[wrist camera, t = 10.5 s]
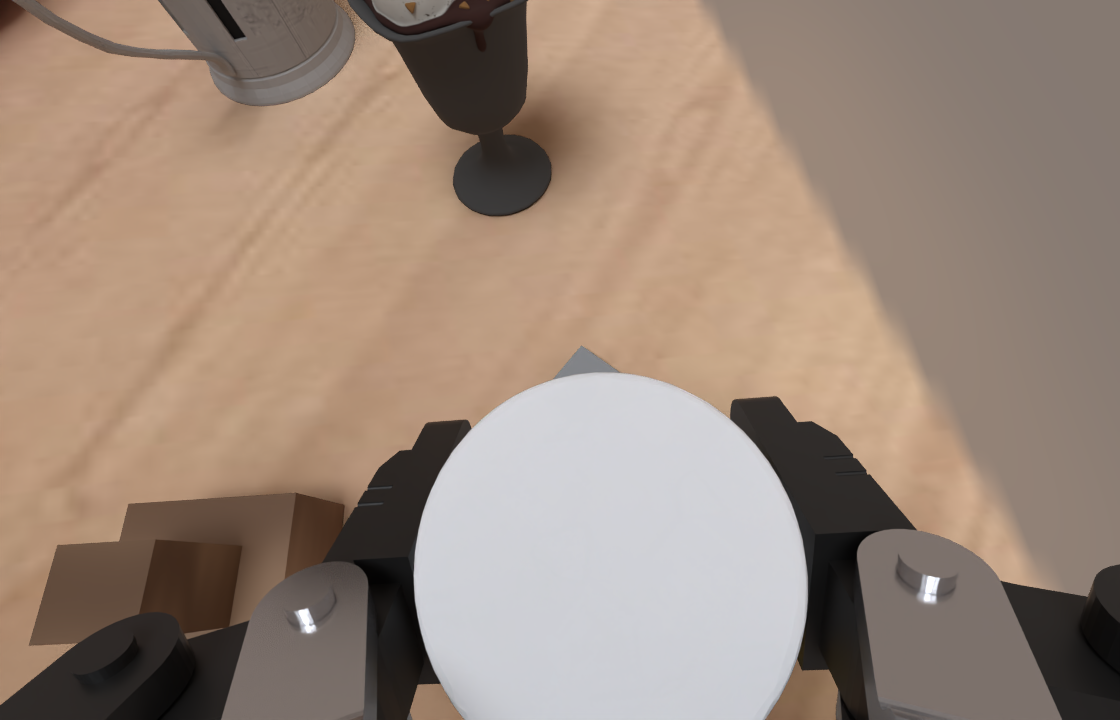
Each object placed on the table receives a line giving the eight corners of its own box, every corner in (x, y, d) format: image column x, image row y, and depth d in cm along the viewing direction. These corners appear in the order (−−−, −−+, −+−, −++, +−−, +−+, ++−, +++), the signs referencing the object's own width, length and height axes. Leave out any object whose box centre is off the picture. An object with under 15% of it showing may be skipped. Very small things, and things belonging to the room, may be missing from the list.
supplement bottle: (694, 463, 14) (793, 315, 6) (733, 672, 12) (942, 840, 4) (510, 482, 14) (382, 364, 6) (521, 689, 12) (359, 877, 5)
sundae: (460, 252, 25) (272, -139, 11) (422, 151, 28) (230, -270, 14) (590, 202, 26) (561, -237, 12) (540, 107, 28) (469, -347, 14)
